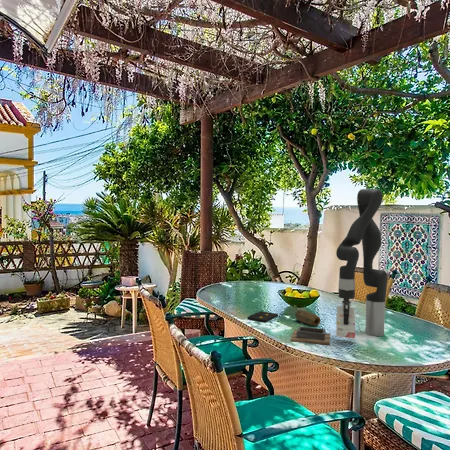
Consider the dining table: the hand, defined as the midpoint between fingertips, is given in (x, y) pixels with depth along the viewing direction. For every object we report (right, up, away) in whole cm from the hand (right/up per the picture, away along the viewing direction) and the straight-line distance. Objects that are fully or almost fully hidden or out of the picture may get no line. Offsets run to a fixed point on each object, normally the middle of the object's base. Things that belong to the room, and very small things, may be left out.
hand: (345, 322), depth 187 cm
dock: (-16, -9, +4) cm, 19 cm away
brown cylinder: (-12, -9, +31) cm, 35 cm away
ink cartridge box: (0, -7, 0) cm, 7 cm away
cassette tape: (-36, -8, +41) cm, 55 cm away
